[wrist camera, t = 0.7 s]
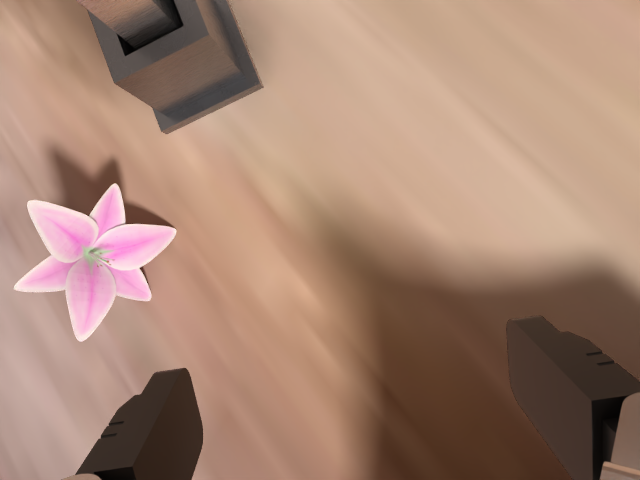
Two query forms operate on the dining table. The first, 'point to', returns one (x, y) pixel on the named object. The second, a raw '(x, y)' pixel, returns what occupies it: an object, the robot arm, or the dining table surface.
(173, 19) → the column
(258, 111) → the dining table surface
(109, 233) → the lily
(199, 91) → the stand housing
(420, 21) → the dining table surface
